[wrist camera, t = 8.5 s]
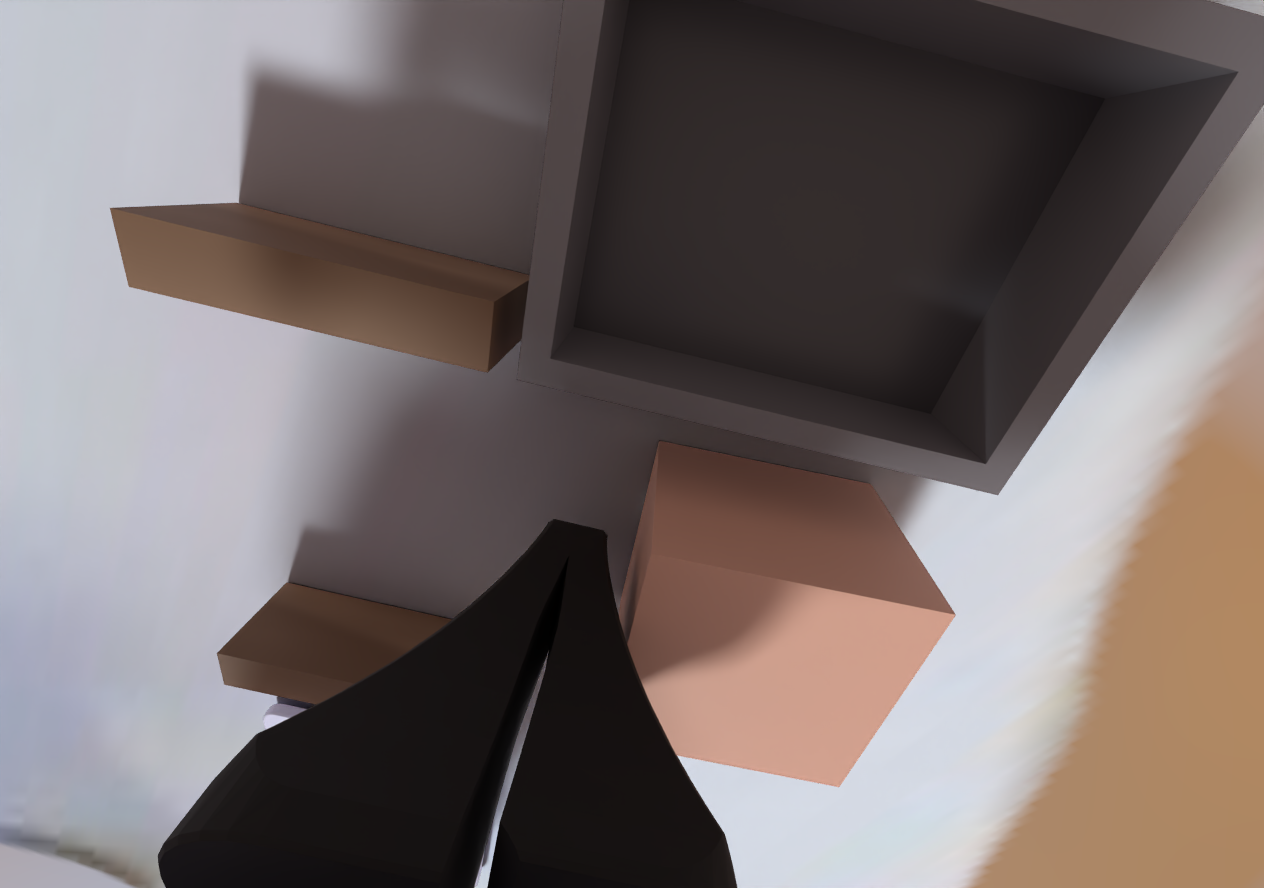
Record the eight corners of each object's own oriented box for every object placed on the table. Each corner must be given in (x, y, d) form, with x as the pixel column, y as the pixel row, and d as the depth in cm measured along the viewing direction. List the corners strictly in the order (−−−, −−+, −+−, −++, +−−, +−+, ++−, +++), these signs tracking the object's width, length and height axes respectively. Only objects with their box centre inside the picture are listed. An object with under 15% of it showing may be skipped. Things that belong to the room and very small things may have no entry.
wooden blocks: (486, 654, 15) (453, 734, 13) (290, 611, 15) (224, 684, 13) (534, 276, 10) (494, 301, 8) (236, 202, 10) (110, 207, 8)
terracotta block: (797, 633, 14) (838, 786, 10) (621, 598, 14) (601, 740, 10) (871, 484, 12) (955, 614, 8) (659, 440, 12) (651, 553, 8)
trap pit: (933, 432, 11) (997, 495, 9) (549, 339, 11) (516, 379, 8) (1136, 73, 8) (1314, 29, 6) (611, -68, 8) (584, -171, 5)
